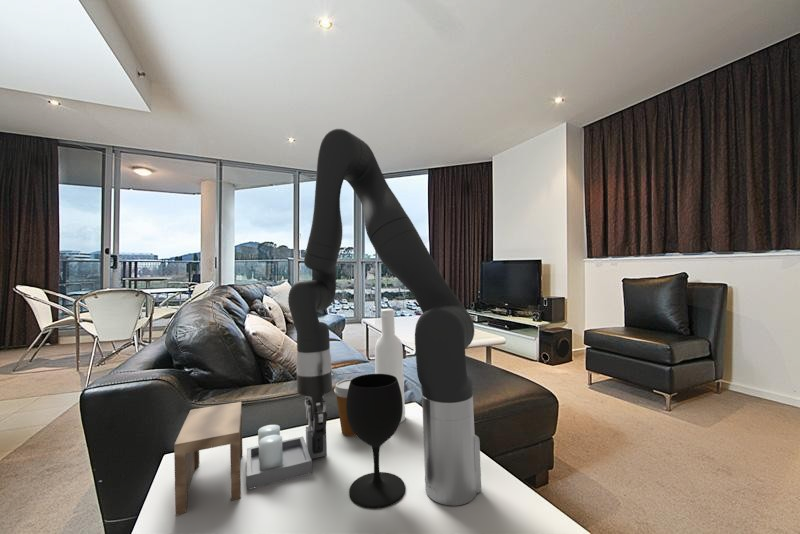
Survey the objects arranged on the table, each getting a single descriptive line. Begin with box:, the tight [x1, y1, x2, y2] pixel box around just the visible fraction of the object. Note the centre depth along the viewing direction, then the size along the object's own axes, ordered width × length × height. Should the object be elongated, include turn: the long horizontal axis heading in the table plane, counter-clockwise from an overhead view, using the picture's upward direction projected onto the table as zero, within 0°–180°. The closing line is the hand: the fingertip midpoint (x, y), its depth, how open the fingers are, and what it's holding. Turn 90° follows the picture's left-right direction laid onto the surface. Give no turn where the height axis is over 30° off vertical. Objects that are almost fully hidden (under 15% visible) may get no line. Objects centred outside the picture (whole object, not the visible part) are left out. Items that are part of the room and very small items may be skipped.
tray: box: [246, 424, 328, 490], centre depth 74 cm, size 16×12×7 cm
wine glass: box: [346, 373, 406, 510], centre depth 64 cm, size 10×10×20 cm
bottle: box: [374, 308, 406, 424], centre depth 95 cm, size 8×8×30 cm
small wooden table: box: [173, 401, 244, 516], centre depth 68 cm, size 10×17×12 cm, turn 23°
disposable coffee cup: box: [333, 378, 357, 437], centre depth 89 cm, size 10×10×12 cm
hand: (316, 448), depth 76 cm, fingers closed on tray, 2 cm apart
